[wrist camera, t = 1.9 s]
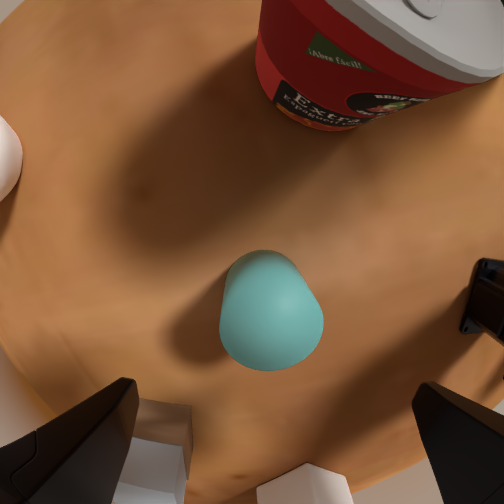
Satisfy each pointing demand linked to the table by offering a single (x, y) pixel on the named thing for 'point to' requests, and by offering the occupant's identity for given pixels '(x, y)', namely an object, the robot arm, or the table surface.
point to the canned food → (373, 55)
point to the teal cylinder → (268, 313)
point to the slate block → (152, 474)
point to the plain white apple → (9, 158)
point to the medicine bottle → (306, 488)
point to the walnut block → (165, 426)
